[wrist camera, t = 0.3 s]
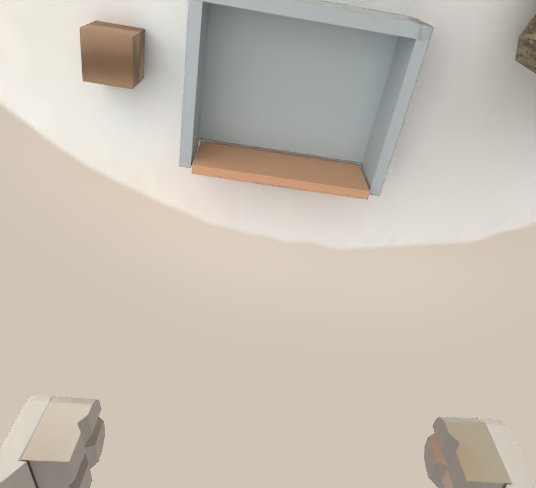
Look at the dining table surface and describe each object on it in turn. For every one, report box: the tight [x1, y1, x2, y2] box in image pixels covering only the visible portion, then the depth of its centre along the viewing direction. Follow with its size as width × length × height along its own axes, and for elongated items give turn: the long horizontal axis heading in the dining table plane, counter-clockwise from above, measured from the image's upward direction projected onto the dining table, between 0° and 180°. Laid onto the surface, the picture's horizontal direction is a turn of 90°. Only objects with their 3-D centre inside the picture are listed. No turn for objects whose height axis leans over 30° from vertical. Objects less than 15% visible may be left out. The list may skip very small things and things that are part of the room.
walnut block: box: [80, 21, 145, 89], centre depth 47 cm, size 5×5×5 cm
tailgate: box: [192, 141, 370, 199], centre depth 52 cm, size 1×19×7 cm, turn 81°
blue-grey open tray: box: [179, 0, 433, 196], centre depth 48 cm, size 17×22×7 cm
